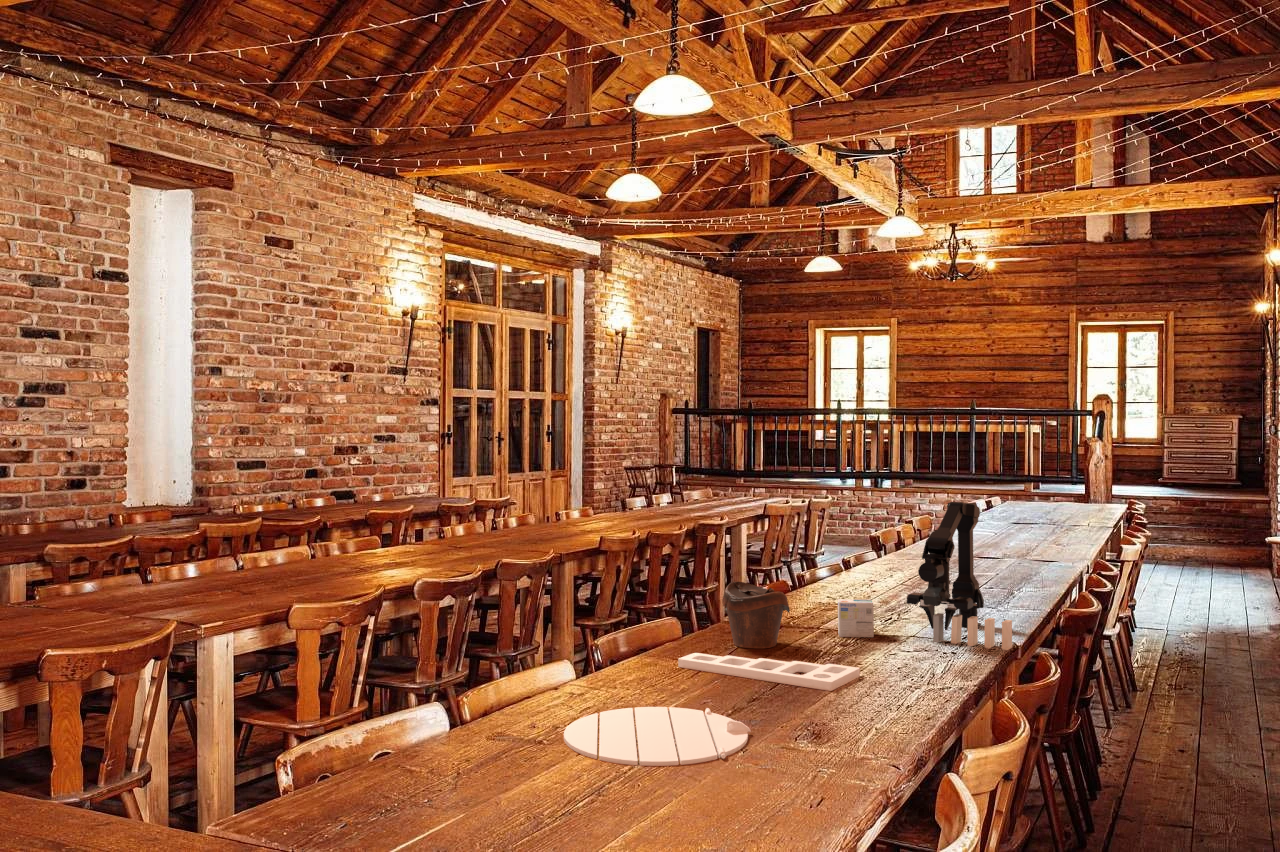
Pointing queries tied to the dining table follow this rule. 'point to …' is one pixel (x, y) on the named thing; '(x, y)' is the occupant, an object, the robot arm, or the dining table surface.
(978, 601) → the robot arm
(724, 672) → the holder
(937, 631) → the domino
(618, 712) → the white grooved round board
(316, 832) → the dining table surface
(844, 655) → the dining table surface
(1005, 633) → the domino
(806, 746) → the dining table surface
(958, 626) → the domino
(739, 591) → the rusty bucket
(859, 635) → the light bulb box
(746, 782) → the dining table surface
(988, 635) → the domino
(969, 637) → the domino
